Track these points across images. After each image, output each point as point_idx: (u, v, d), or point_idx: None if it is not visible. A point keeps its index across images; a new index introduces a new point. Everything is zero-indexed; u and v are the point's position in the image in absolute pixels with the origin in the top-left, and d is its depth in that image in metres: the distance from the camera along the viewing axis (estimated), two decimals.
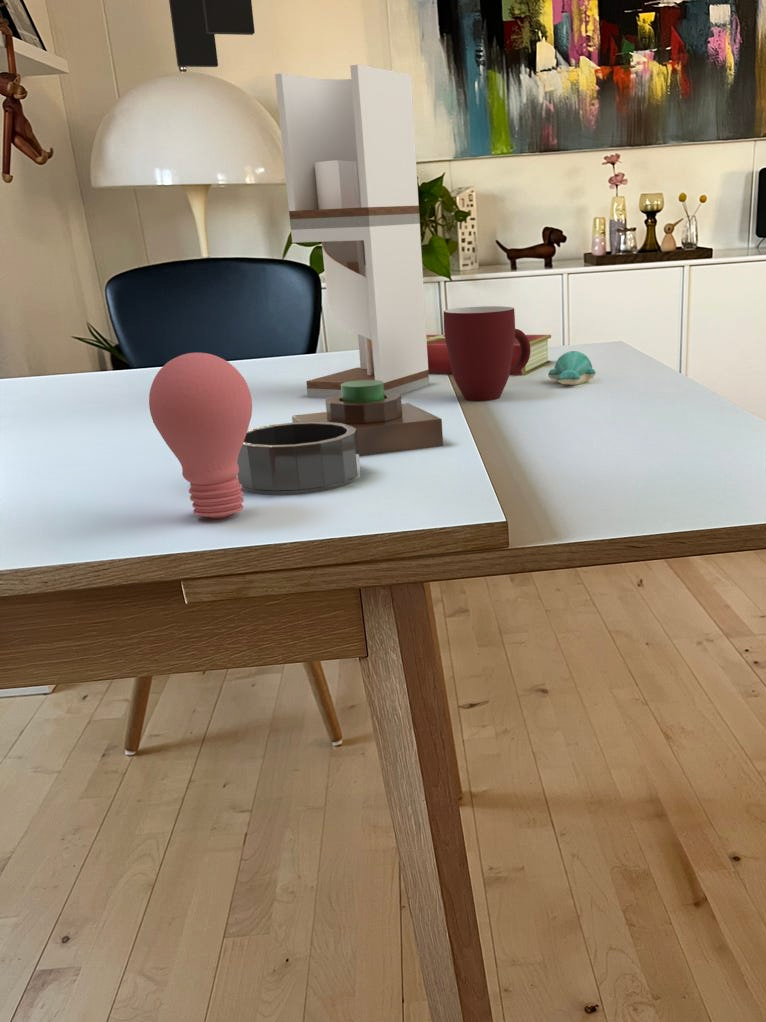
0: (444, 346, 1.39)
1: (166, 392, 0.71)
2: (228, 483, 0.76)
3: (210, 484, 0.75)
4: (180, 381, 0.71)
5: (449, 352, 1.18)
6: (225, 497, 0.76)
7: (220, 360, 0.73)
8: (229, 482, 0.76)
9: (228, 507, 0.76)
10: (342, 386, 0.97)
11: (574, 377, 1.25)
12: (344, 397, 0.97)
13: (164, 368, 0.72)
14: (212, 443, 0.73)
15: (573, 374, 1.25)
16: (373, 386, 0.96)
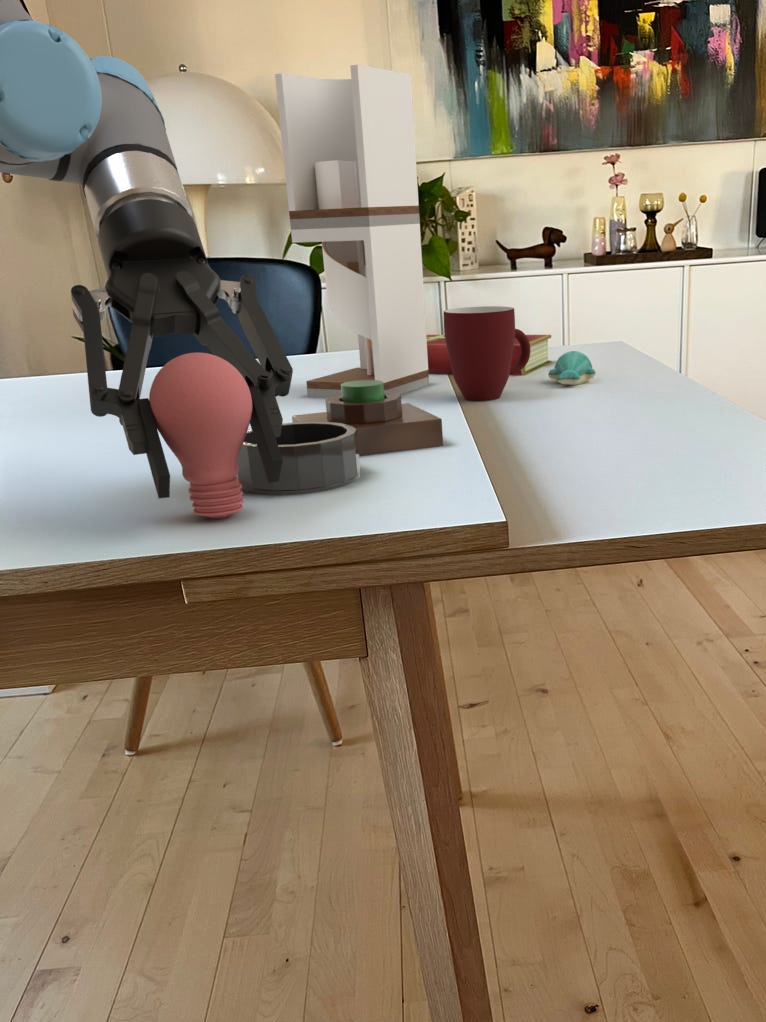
0: (444, 346, 1.39)
1: (166, 391, 0.71)
2: (228, 483, 0.76)
3: (210, 484, 0.75)
4: (180, 381, 0.71)
5: (449, 352, 1.18)
6: (225, 497, 0.76)
7: (220, 360, 0.73)
8: (229, 482, 0.76)
9: (228, 507, 0.76)
10: (342, 386, 0.97)
11: (574, 377, 1.25)
12: (344, 397, 0.97)
13: (164, 368, 0.72)
14: (212, 443, 0.73)
15: (573, 374, 1.25)
16: (373, 386, 0.96)
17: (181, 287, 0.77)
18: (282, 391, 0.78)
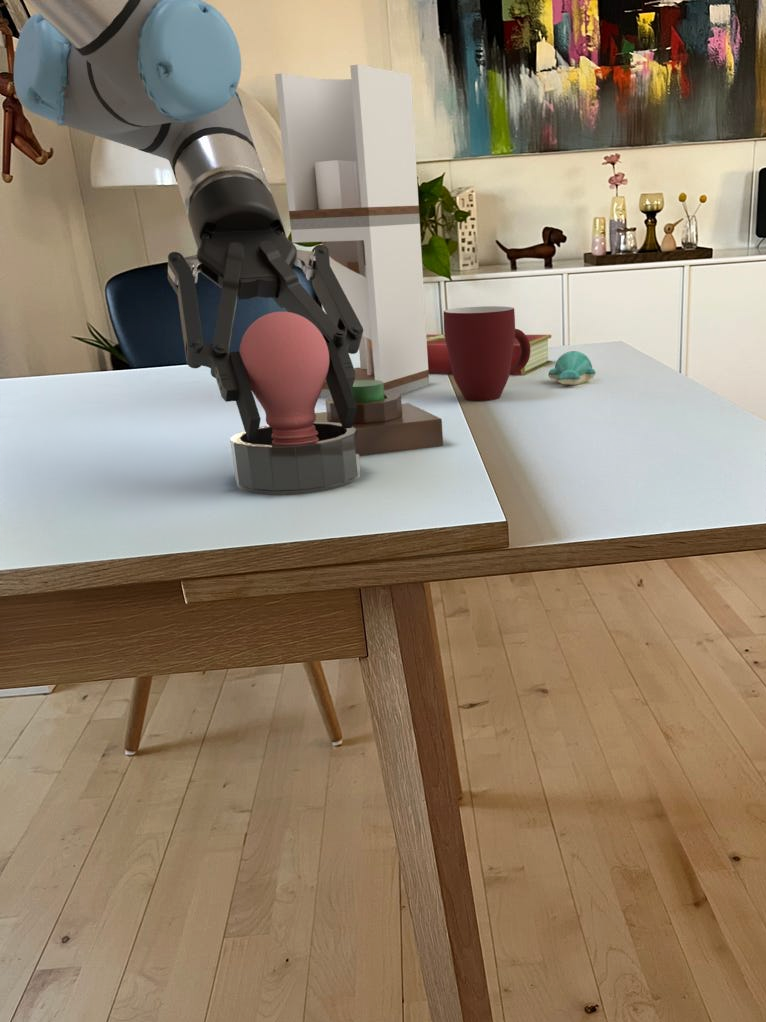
0: (444, 346, 1.39)
1: (256, 345, 0.81)
2: (307, 429, 0.85)
3: (291, 429, 0.84)
4: (270, 336, 0.80)
5: (449, 352, 1.18)
6: (304, 441, 0.85)
7: (303, 318, 0.82)
8: (308, 428, 0.85)
9: None
10: None
11: (574, 377, 1.25)
12: None
13: (254, 324, 0.81)
14: (296, 391, 0.82)
15: (573, 374, 1.25)
16: (373, 386, 0.96)
17: (264, 255, 0.87)
18: (353, 348, 0.88)
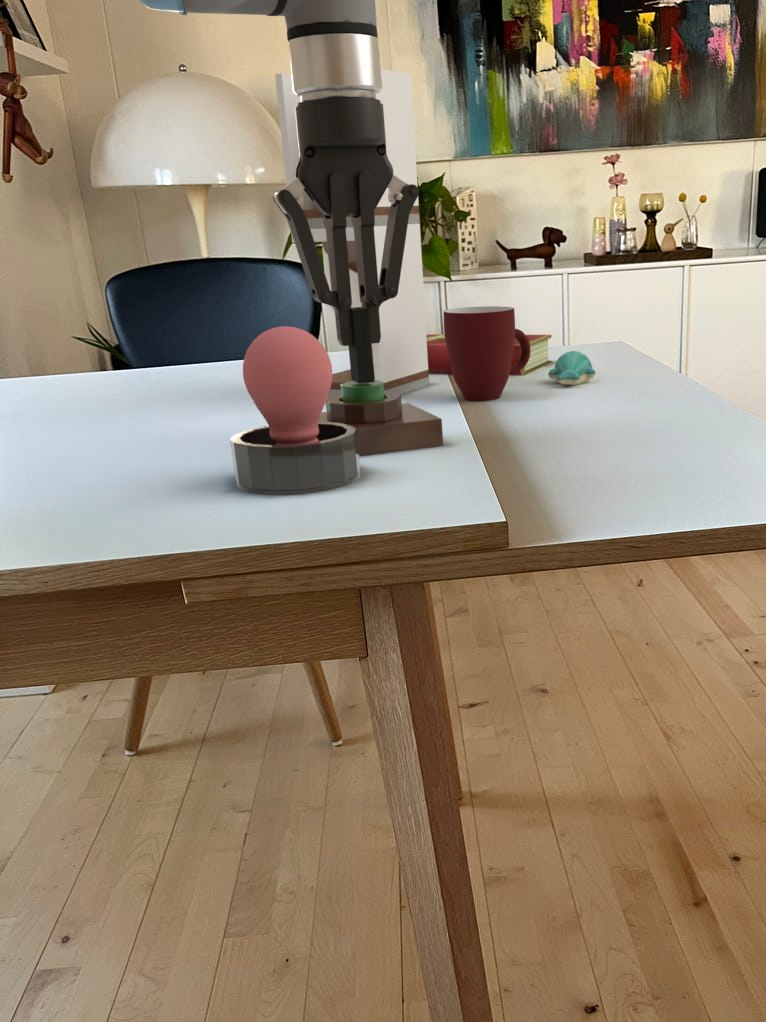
0: (444, 346, 1.39)
1: (260, 360, 0.81)
2: (310, 442, 0.85)
3: (295, 443, 0.85)
4: (273, 351, 0.81)
5: (449, 352, 1.18)
6: None
7: (306, 333, 0.83)
8: None
9: None
10: (342, 386, 0.97)
11: (574, 377, 1.25)
12: (344, 397, 0.97)
13: (257, 339, 0.82)
14: (299, 406, 0.83)
15: (573, 374, 1.25)
16: (373, 386, 0.96)
17: None
18: None
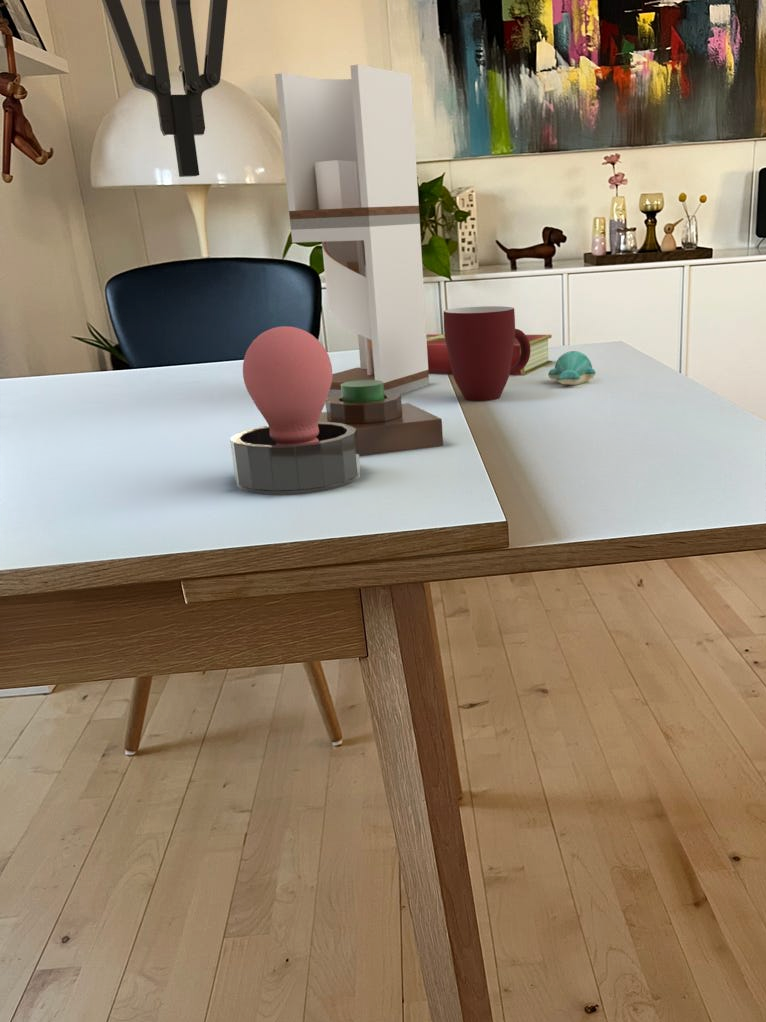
0: (444, 346, 1.39)
1: (260, 360, 0.81)
2: (310, 442, 0.85)
3: (295, 443, 0.85)
4: (273, 351, 0.81)
5: (449, 352, 1.18)
6: None
7: (306, 333, 0.83)
8: None
9: None
10: (342, 386, 0.97)
11: (574, 377, 1.25)
12: (344, 397, 0.97)
13: (257, 339, 0.82)
14: (299, 406, 0.83)
15: (573, 374, 1.25)
16: (373, 386, 0.96)
17: None
18: None
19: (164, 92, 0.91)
